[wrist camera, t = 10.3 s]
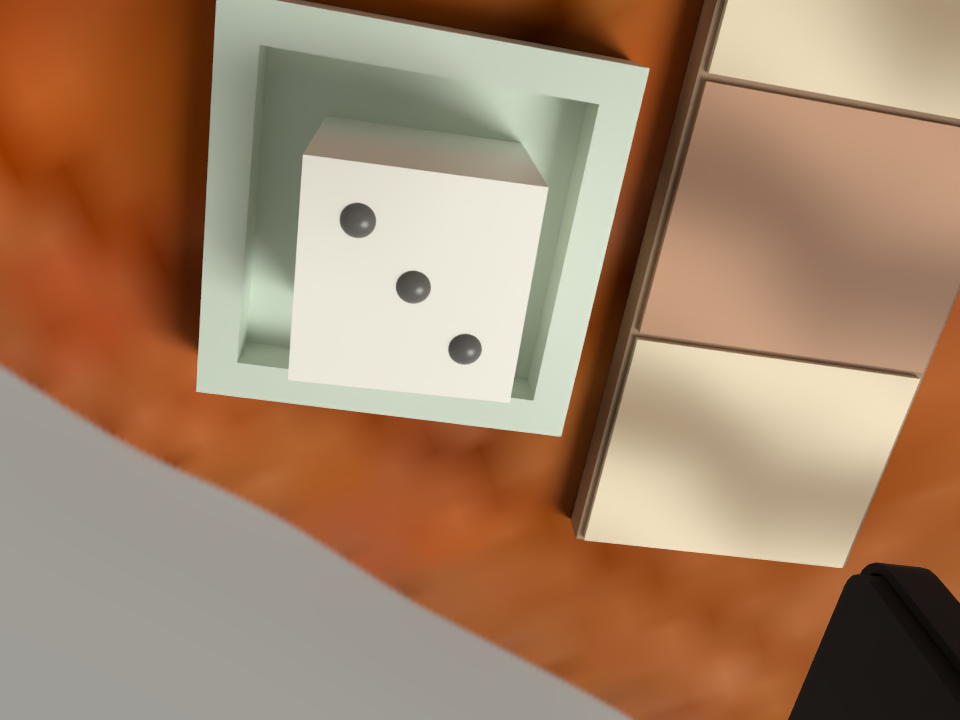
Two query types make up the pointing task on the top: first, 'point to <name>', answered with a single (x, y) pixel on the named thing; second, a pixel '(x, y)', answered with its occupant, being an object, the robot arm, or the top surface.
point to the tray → (416, 104)
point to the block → (413, 260)
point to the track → (784, 281)
